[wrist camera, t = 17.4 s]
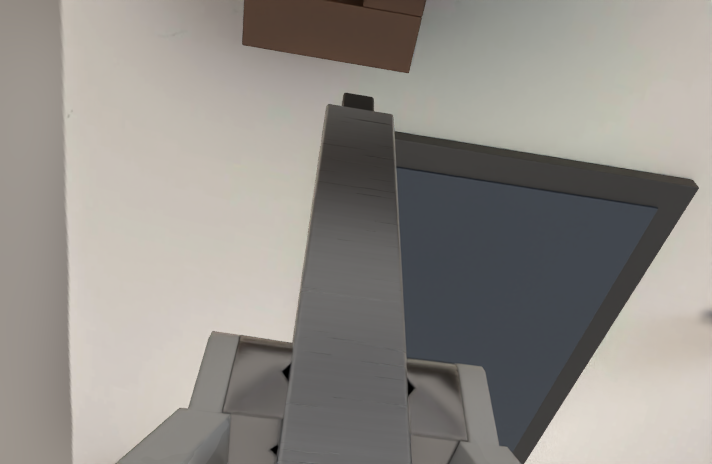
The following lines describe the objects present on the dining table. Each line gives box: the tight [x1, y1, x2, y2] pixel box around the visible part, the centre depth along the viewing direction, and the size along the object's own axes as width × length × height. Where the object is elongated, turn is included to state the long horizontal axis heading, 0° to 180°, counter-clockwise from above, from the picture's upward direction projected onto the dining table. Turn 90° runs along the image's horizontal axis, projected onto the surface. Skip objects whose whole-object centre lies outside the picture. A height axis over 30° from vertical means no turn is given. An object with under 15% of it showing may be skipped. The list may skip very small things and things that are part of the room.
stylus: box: [275, 93, 412, 464], centre depth 14 cm, size 2×2×15 cm
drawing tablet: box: [394, 132, 699, 464], centre depth 52 cm, size 40×24×1 cm, turn 170°
